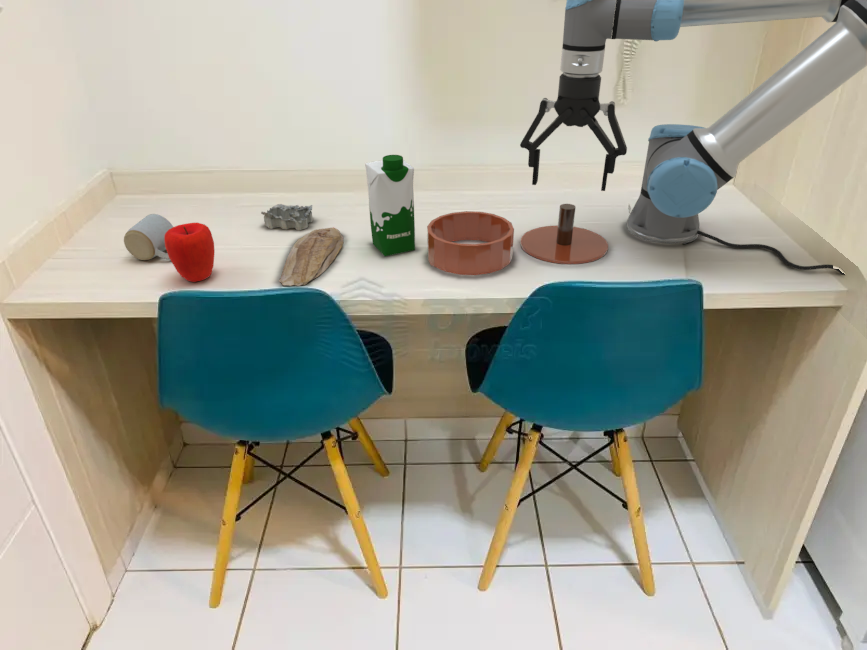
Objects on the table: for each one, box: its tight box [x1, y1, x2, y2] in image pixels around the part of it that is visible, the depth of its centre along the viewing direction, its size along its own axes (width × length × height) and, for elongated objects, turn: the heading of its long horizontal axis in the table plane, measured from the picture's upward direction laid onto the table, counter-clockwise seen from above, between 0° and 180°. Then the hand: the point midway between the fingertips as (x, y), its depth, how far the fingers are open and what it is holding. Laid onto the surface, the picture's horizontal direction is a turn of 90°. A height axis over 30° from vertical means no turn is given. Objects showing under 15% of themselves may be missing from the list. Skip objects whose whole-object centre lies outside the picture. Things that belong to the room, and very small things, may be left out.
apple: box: [165, 222, 215, 283], centre depth 122 cm, size 9×9×11 cm
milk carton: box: [364, 154, 416, 257], centre depth 130 cm, size 9×9×20 cm
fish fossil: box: [278, 227, 344, 287], centre depth 131 cm, size 26×10×1 cm, turn 179°
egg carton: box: [260, 203, 314, 231], centre depth 146 cm, size 11×8×4 cm
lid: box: [519, 203, 609, 265], centre depth 131 cm, size 18×18×9 cm
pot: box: [426, 210, 515, 276], centre depth 128 cm, size 17×17×7 cm
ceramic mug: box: [123, 213, 174, 261], centre depth 131 cm, size 11×8×8 cm
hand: (568, 185), depth 126 cm, fingers open, 13 cm apart
